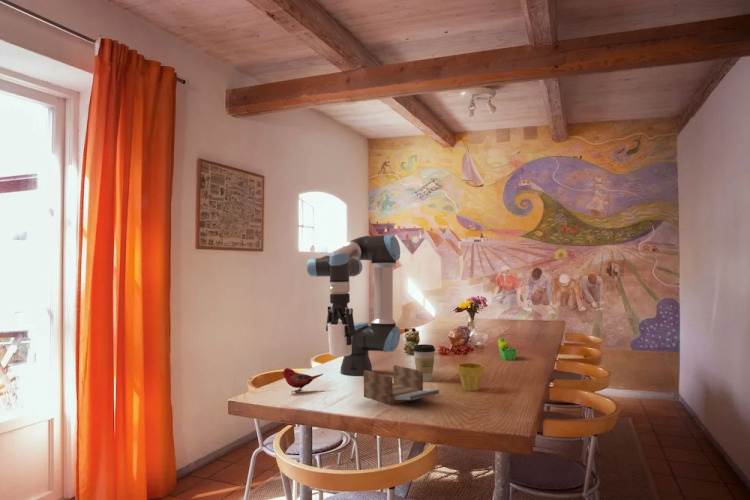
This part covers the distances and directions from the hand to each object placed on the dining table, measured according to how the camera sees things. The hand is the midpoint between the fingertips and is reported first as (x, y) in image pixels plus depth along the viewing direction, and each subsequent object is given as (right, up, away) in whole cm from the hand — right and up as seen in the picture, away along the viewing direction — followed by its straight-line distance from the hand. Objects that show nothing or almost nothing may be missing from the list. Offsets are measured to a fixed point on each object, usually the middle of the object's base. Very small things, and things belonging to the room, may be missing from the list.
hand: (340, 351), depth 197 cm
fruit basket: (+84, -19, +78) cm, 116 cm away
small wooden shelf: (+20, -18, +1) cm, 27 cm away
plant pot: (+52, -18, +12) cm, 57 cm away
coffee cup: (+35, -18, +29) cm, 49 cm away
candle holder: (0, -1, 0) cm, 1 cm away
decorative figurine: (+34, -20, +93) cm, 102 cm away
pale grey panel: (+25, -14, -5) cm, 30 cm away
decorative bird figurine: (-16, -19, +12) cm, 27 cm away
